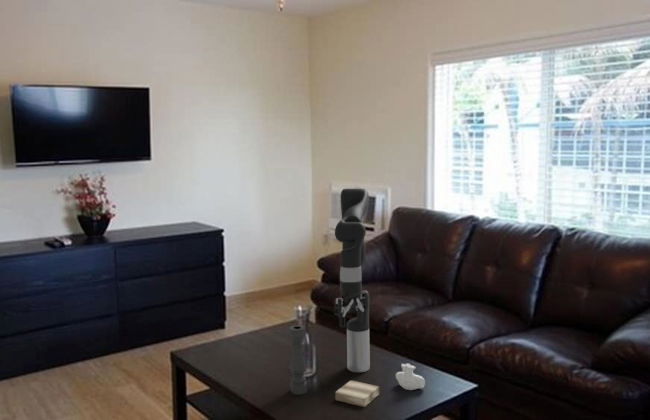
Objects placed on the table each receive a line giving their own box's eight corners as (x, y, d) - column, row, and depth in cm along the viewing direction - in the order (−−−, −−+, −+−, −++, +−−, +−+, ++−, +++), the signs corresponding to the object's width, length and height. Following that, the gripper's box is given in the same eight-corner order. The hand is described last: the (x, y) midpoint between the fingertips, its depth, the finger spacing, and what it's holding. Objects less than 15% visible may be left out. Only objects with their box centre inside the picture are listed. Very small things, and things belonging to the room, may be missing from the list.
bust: (395, 390, 230) (387, 375, 223) (401, 373, 235) (393, 357, 228) (424, 397, 224) (416, 381, 217) (430, 379, 228) (423, 363, 221)
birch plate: (350, 387, 228) (350, 380, 228) (379, 394, 222) (379, 386, 222) (335, 399, 218) (335, 392, 218) (364, 407, 212) (364, 399, 212)
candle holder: (292, 395, 222) (290, 331, 219) (289, 388, 228) (287, 326, 225) (308, 393, 224) (307, 329, 221) (304, 386, 230) (303, 324, 227)
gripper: (357, 274, 215) (357, 318, 216) (328, 280, 205) (329, 326, 207) (372, 277, 209) (373, 322, 211) (343, 283, 200) (344, 330, 201)
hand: (351, 324), depth 209 cm, fingers open, 8 cm apart
